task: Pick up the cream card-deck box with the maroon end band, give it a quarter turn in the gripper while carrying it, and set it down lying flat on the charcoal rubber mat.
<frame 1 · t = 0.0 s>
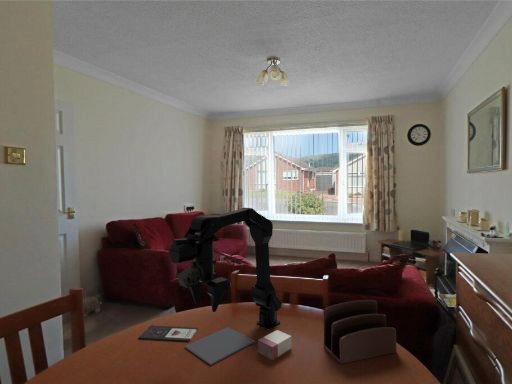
hand: (205, 307, 95), 15 cm above the table, tool pointing down, fingers open, 9 cm apart
mat: (220, 344, 100), on the table
letter holder: (359, 351, 96), on the table
card box: (275, 350, 97), on the table
chocolate bar: (169, 335, 108), on the table
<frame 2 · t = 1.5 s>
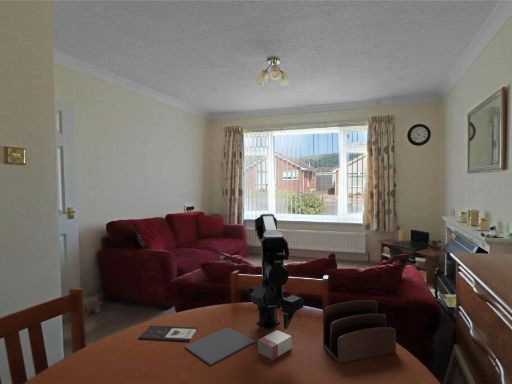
hand: (274, 324, 97), 8 cm above the table, tool pointing down, fingers open, 9 cm apart
nothing on the table moved.
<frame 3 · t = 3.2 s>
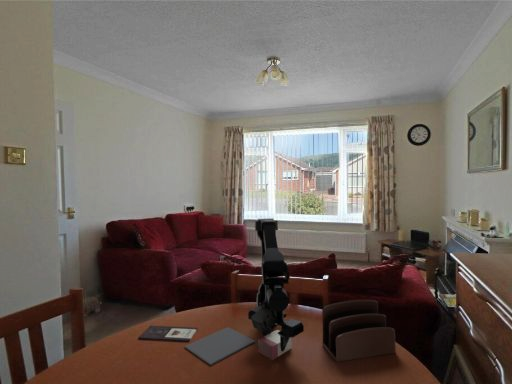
hand: (274, 347, 97), 1 cm above the table, tool pointing down, fingers closed on card box, 6 cm apart
card box: (275, 350, 97), on the table, touching gripper
everything else where it was.
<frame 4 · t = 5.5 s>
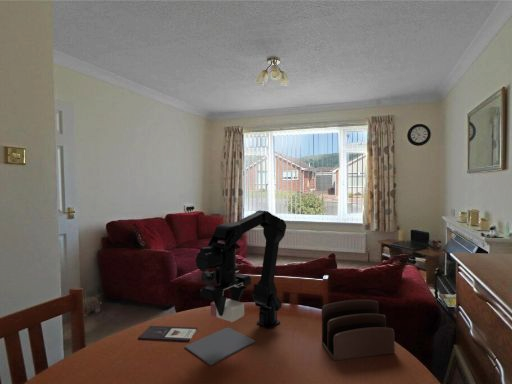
hand: (227, 312, 99), 11 cm above the table, tool pointing down, fingers closed on card box, 6 cm apart
card box: (227, 315, 99), point 10 cm above the table, touching gripper
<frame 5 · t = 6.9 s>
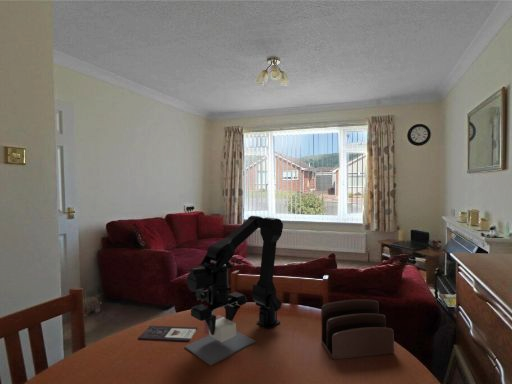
hand: (220, 330, 100), 5 cm above the table, tool pointing down, fingers closed on card box, 6 cm apart
card box: (220, 333, 100), point 4 cm above the table, touching gripper
when the fingers open (3 cm above the table, at t = 8.1 s): card box drops 1 cm, resting on mat.
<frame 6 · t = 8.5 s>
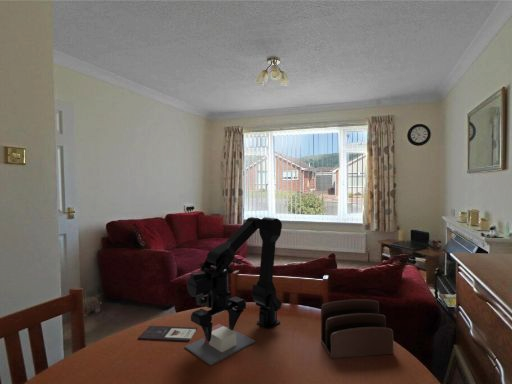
hand: (220, 335, 100), 3 cm above the table, tool pointing down, fingers open, 9 cm apart
card box: (220, 343, 100), point 1 cm above the table, touching mat
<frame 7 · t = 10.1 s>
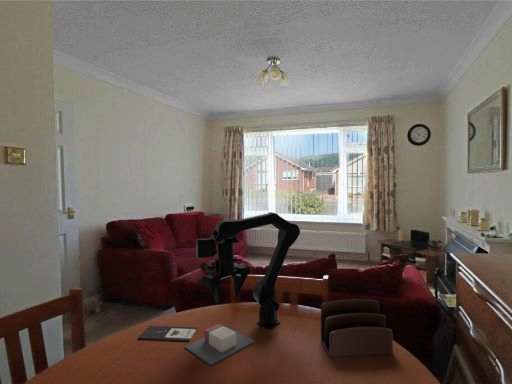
hand: (227, 299, 110), 11 cm above the table, tool pointing down, fingers open, 9 cm apart
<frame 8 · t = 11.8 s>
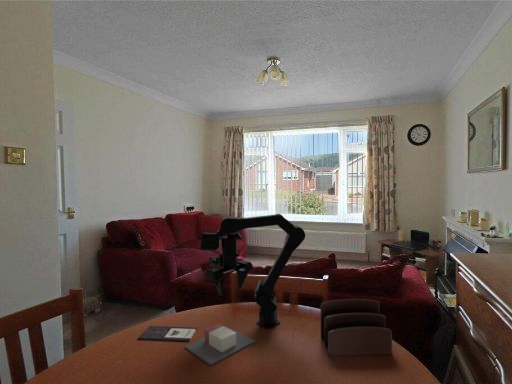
hand: (230, 292, 115), 12 cm above the table, tool pointing down, fingers open, 9 cm apart
at the end: card box inside the target area on the mat (0.1 cm from its centre), point 0.5 cm above the mat's base; card box tilted 0°; the gripper is holding nothing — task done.
